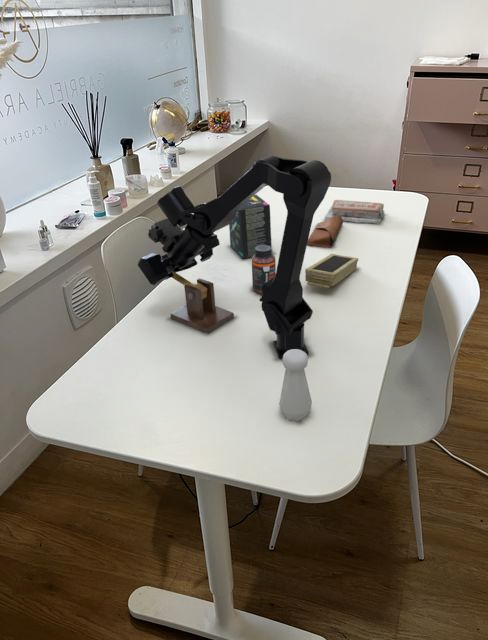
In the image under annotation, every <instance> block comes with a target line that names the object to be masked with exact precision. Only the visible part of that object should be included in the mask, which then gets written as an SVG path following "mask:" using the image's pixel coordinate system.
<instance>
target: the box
mask: <svg viewBox="0 0 488 640" xmlns="http://www.w3.org/2000/svg"><path fill="white" fill-rule="evenodd" d="M358 262H359V258H358V257H354V256H349V255H348V256H347V255H343V254H336V253H330V254H329V255H327V256H325V257H323V258H322V259H321V260H319V261H317V262H316V263H314V264H312V265H310V266H308V267H307V268H305V270H304V273H305V282H307V285H309V286H313V287H314V286H315V287H319V288H320V287H321V288H325V289H331V287H334V286H335V285H336V284H339V282H341V281H342V280H344V279H345V278H346V277H347V276H349V275H350V274H352V273H353V272H354V271H356V270H357V268H358V267H357V266H358Z"/></svg>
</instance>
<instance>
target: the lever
mask: <svg viewBox="0 0 488 640" xmlns="http://www.w3.org/2000/svg"><path fill="white" fill-rule="evenodd" d="M172 273H173V274H174V276H173V277H171V278H172V279H173V280H175V281H177V282H178V283H179V284H181V285H182V286H183V287H184V286H185V285H190V286H193V287H195V288H198V289H201V294H202V299H204V298H206V297H207V290H208V288H206V287H205V286H203V285H201V284H200V283H198V284H197V283H193V282H191V281H190V280H188V279H186V278H185V277H184V276H182V275H180V274H179V273H178V272H176V273H175V272H174V271H173V272H172Z"/></svg>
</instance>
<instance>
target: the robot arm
mask: <svg viewBox="0 0 488 640" xmlns="http://www.w3.org/2000/svg"><path fill="white" fill-rule="evenodd" d="M331 182H332V173H331V171H330V170H329V168H328V166H326V164H325V163H324V162H323V161H321V160H318V159H317V160H316V159H313V160H312V159H311V160H309V161H307V160H304V159H295V158H294V159H293V158H283V157H280V156H278V155H277V156H276V155H268V156H266V157H263V158H261V159H258V160H257V161H255V162H254V164H253V165H252V166H251V168H250V169H248V170H247V171H246V172H245V173H244V174H243V175H242V176H240V177H239V178H238V179H237V180H236V181H235V182H234V183H233V184H232V185H231V186H229V187H228V188H227V189H226V190H225V191H224V192H223V193H221V195H219V196H218V197H216V198H214V199H212V200H210V201H207V202H202V203H200V204H198V205H194V203H193V202H192V201H191V200H190V198H189V197H188V196H187V194H186V193H185V190H184V189H183V188H182V186H181V185H177V186H175V187H172V188H171V190H170V191H168V192H167V193H166V194H164V195H163V196H161V197H160V198H159V199H158V200H157V202H156V204H157V206H158V207H159V209H160V210H161V212H162V213H163V214H164V216H165V217H166V218H163V219H161V220H159V221H156V222H154V223H153V225H151V226H150V228H148V234H147V236H148V238H149V239H150V240H151V241H153V243H155V244H157V243H160V244H161V245H163V246H162V247H161V249H162V251H163V252H164V254H163V255H161V254H160V253H158V254H157V253H153V252H151V253H149V254H147V255H145V256H143V257H141V258H140V259H139V260H138V262H137V267H138V268H139V269H140V271H141V272H142V274H143V275H144V277H145V278H146V280H147V281H148V282H149V284H150V285H153V286H156V285H158V284H160V283H162V282H164V281H167V280H168V279H170V278H172V277H173V276H174V274H173V273H172V272H173V271H174V272H175V273H178V272H183V271H186V270H189V269H192V268H193V267H195V266H197V265H198V261H197V260H196V259H195V258H196V257H197V256H200V258H199V261H200V262H201V263H203V262H205V261H208V260H209V259H211V257H213V255H214V249H215V248H216V247H218V246H220V239H218V235H217V234H215V232H217V231H219V230H221V229H223V228H226V227H227V226H229V224H230V222H231V221H232V220H233V218H234V217H235V216H236V213H237V210H238V209H239V208H240V207H241V206H242V205H243V204H244V203H246V202H247V201H248V200H249V199H250V198H252V197H253V196H254V195H257V194H258V193H259V192H260V191H261V190H262V189H264V188H265V187H266V186H268V187H269V188H271V189H272V190H273V191H274V192H275V193H276V192H277V193H280V194H282V200H283V202H284V205H285V208H286V211H287V212H286V218H285V223H284V229H283V233H282V234H283V235H282V239H281V245H280V250H279V254H278V260H277V264H276V265H277V266H276V275H275V277H273V278H272V279H270V280H269V281H267V282H266V283H264V284H263V287H262V293H261V296H260V298H259V302H261V311H262V312H263V314H264V317H265V320H266V323H267V326H268V328H269V330H270V331H272V332H274V333H275V334H276V340H273V341H272V345H273V348H274V350H275V353H276V356H277V358H278V359H279V360H281V359H282V360H283V355H284V353H286V352H287V351H288V350H291V349H299V350H302V351H304V352H305V353H306V354H307V356H309V353H310V352H309V349H308V347H307V345H306V344H305V323H306V322H307V321H308V320H310V319H311V318H312V316H313V314H314V311H313V308H311V307H310V304H308V303H307V301H306V300H305V299H304V297H303V295H304V288H303V285H302V282H301V279H300V277H301V273H302V270H303V269H302V268H303V264H304V260H305V255H306V252H307V251H306V250H307V246H308V244H307V242H308V239H309V237H310V233H311V229H312V225H313V219H314V215H315V214H316V212H317V210H318V208H320V205H321V204H322V202H323V201H324V200H325V197H326V195H327V192H328V190H329V187H330V185H331ZM184 226H185V227H184ZM182 227H184V228H183V229H182Z"/></svg>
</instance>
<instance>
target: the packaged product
mask: <svg viewBox="0 0 488 640" xmlns="http://www.w3.org/2000/svg"><path fill="white" fill-rule="evenodd" d="M384 206H385V205H384V203H381V202H371V201H370V202H369V201H359V200H358V201H357V200H347V199H334V200H333V202H332V205H331V206H330V208H329V210H328V212H327V213H326V215H325V217H324V219H325V220H327V219H329V218H331V217H333V216H336V215H340V216H341V217H342V219H343V222H352V223H353V222H354V223H357V224H359V223H360V224H361V223H364V224H375V225H376V224H378V225H379V224H381V222H382V220H383V217H384V215H385V210H384V208H385V207H384Z"/></svg>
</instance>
